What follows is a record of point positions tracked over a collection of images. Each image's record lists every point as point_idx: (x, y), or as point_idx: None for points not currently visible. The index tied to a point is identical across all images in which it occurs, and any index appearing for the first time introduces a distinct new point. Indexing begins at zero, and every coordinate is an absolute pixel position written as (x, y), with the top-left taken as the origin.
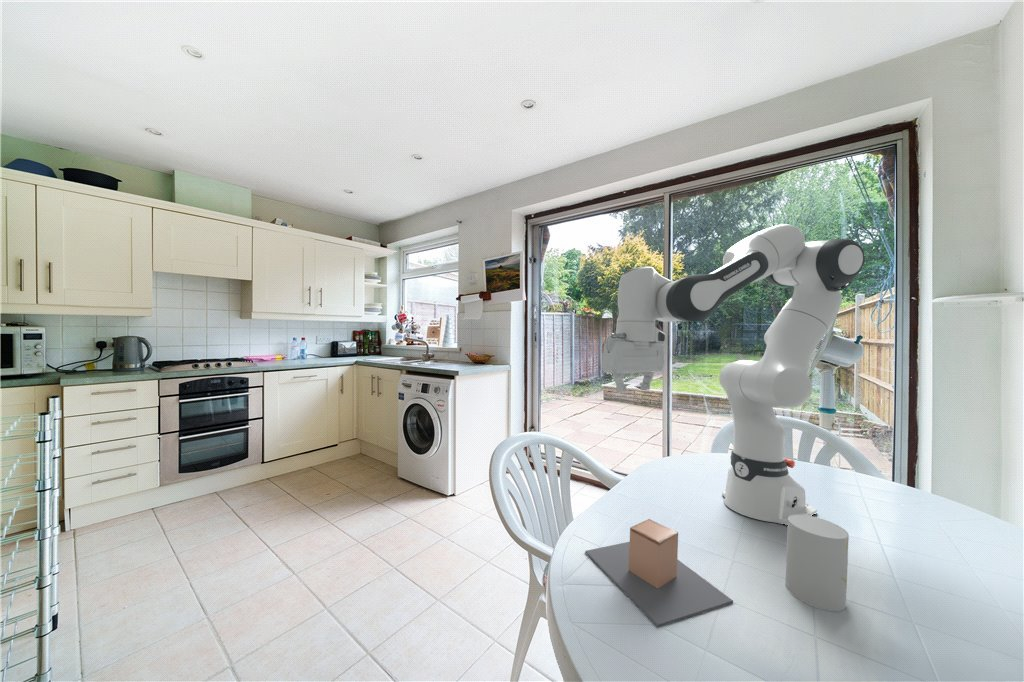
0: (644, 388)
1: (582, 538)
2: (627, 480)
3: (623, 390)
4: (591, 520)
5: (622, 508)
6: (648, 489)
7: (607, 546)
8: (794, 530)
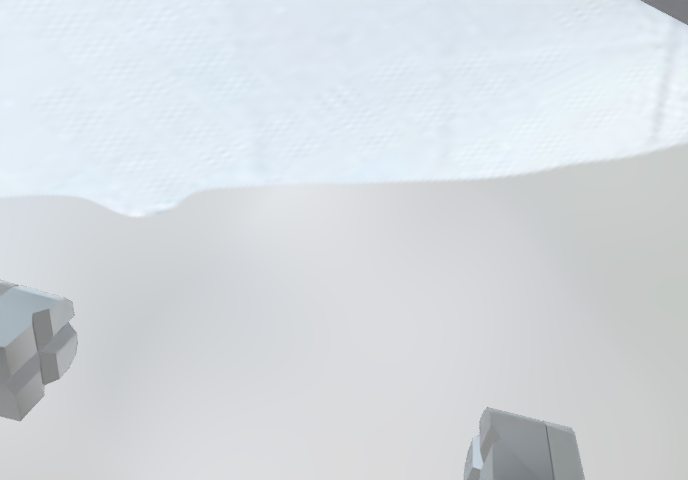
0: (58, 325)
1: (658, 109)
2: (139, 195)
3: (553, 436)
4: (518, 146)
5: (356, 110)
6: (140, 109)
7: (675, 15)
8: None
